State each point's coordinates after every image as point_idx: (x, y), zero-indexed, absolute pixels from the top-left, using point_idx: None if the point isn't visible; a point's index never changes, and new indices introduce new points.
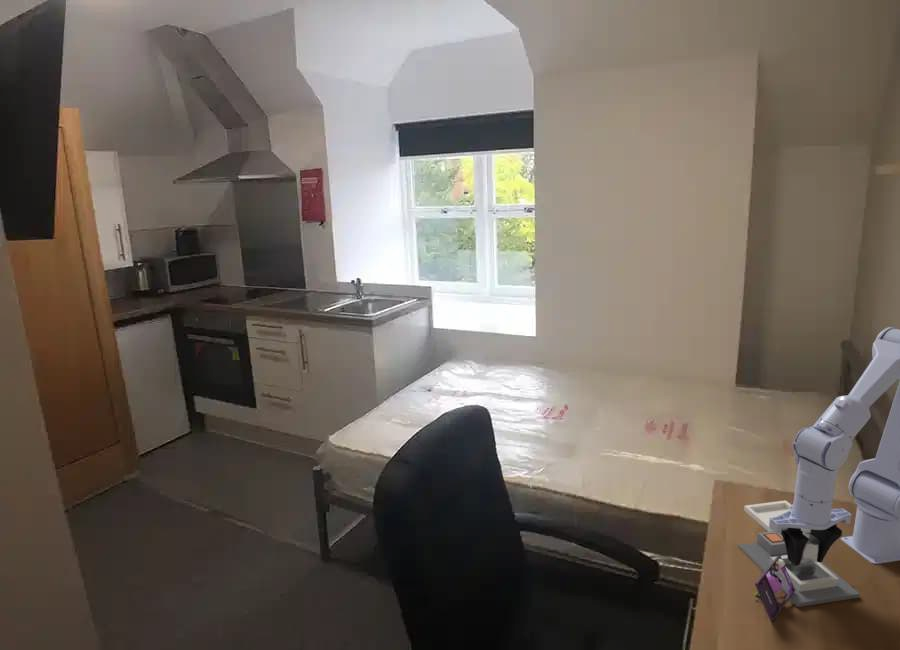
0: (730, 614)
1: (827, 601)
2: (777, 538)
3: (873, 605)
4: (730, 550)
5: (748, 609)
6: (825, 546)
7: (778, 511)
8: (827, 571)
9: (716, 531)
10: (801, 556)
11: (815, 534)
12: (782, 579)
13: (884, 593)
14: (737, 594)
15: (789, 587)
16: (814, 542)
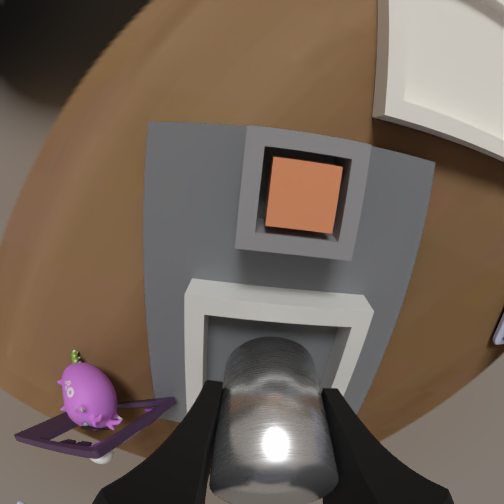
0: (17, 359)
1: None
2: (314, 211)
3: None
4: (118, 129)
5: (50, 368)
6: (324, 497)
7: (489, 22)
8: None
9: (156, 3)
10: (212, 458)
11: (346, 488)
12: (113, 429)
13: (409, 416)
14: (41, 326)
15: (175, 382)
16: (289, 500)
